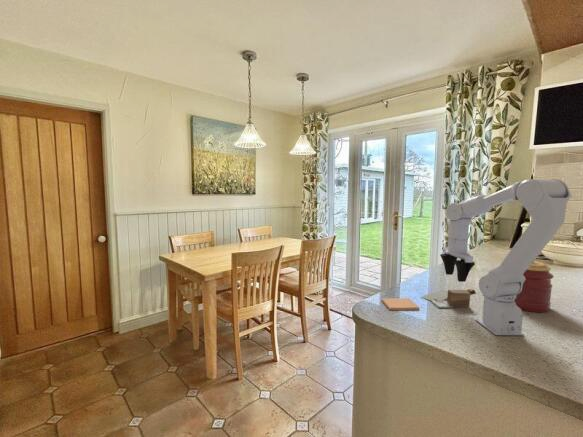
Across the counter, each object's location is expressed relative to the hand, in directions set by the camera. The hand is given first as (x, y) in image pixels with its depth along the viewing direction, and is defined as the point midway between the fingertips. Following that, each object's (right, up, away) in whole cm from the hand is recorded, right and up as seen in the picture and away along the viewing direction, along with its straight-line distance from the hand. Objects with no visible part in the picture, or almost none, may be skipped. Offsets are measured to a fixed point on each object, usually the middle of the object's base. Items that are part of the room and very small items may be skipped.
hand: (455, 277), depth 99 cm
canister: (+25, -10, +2) cm, 27 cm away
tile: (-19, -10, +1) cm, 21 cm away
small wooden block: (-1, -10, +1) cm, 10 cm away
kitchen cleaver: (+4, -9, +11) cm, 15 cm away
